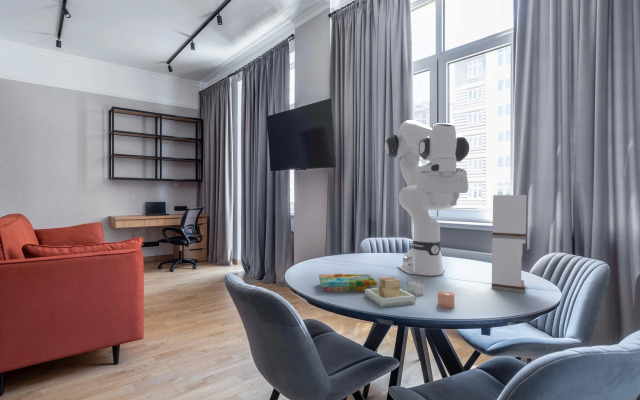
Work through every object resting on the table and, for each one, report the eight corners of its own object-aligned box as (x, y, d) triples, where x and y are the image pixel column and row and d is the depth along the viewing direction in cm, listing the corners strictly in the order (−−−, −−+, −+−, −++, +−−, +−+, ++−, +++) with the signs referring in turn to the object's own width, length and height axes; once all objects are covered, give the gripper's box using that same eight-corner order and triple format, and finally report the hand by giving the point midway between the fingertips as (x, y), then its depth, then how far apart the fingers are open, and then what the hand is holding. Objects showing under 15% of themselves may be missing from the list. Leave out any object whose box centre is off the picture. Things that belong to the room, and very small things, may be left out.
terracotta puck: (434, 304, 111) (434, 292, 111) (447, 303, 113) (447, 290, 113) (444, 309, 107) (444, 296, 107) (457, 308, 108) (458, 295, 108)
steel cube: (406, 294, 123) (406, 282, 123) (414, 292, 125) (414, 281, 125) (415, 296, 120) (415, 285, 120) (423, 294, 122) (423, 283, 122)
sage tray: (364, 296, 120) (365, 289, 120) (395, 293, 123) (395, 286, 123) (381, 307, 108) (381, 299, 108) (415, 303, 112) (415, 295, 112)
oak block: (378, 295, 118) (378, 277, 117) (391, 293, 119) (391, 276, 119) (386, 299, 113) (386, 281, 113) (399, 298, 114) (399, 280, 114)
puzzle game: (319, 272, 135) (369, 272, 137) (319, 284, 135) (369, 284, 137) (321, 280, 124) (376, 279, 125) (321, 293, 124) (376, 292, 125)
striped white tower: (524, 293, 124) (526, 195, 124) (491, 288, 130) (493, 195, 129) (523, 285, 134) (525, 195, 133) (493, 282, 139) (494, 194, 139)
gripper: (460, 168, 132) (460, 205, 133) (414, 167, 126) (413, 205, 126) (472, 167, 126) (472, 205, 127) (424, 166, 120) (424, 206, 120)
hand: (442, 205), depth 126 cm, fingers open, 8 cm apart
